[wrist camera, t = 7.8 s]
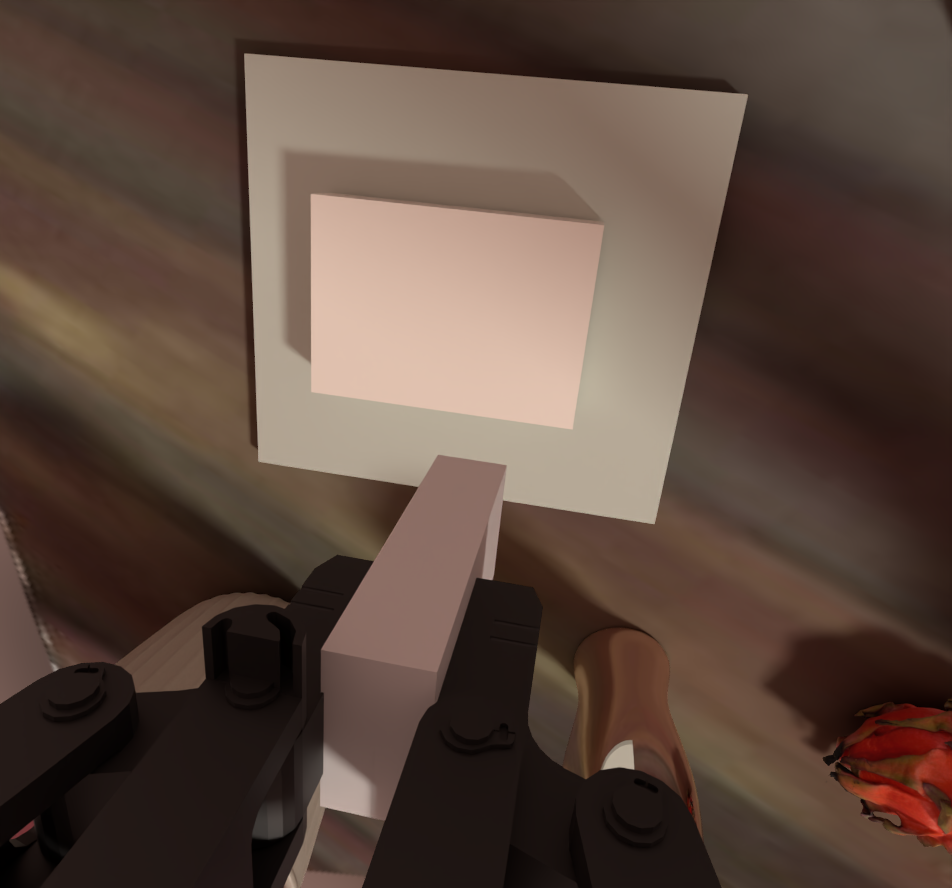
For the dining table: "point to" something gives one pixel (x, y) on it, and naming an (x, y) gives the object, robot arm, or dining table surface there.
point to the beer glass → (627, 713)
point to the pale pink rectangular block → (451, 306)
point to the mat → (503, 189)
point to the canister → (182, 667)
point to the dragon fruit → (901, 769)
